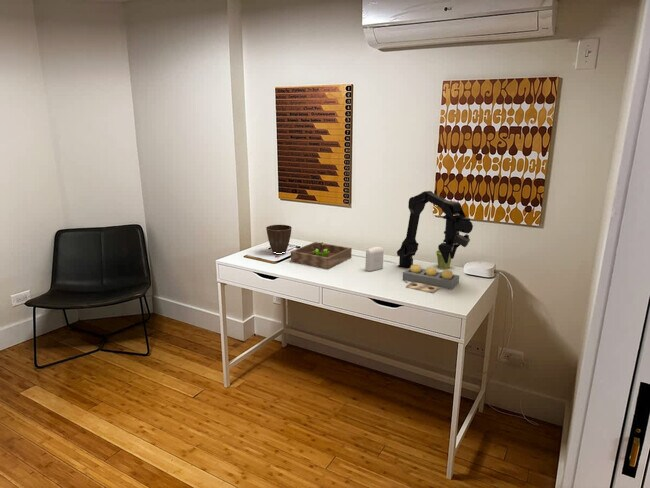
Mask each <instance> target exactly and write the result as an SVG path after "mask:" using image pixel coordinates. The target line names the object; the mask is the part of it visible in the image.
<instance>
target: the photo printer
mask: <svg viewBox="0 0 650 488" xmlns="http://www.w3.org/2000/svg"><path fill="white" fill-rule="evenodd" d="M383 268H384V248H383V247H380V246H373V247H370V248H368V249H367V250H366V251H365V271H367V272H372V271H378V270H383Z"/></svg>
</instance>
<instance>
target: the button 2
mask: <svg viewBox="0 0 650 488" xmlns="http://www.w3.org/2000/svg"><path fill="white" fill-rule="evenodd" d="M425 269H426V275H428V276H433V277H435V276H436V271H437V268H436V267H433V266H432V267H426V268H425Z"/></svg>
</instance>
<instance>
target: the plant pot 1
mask: <svg viewBox="0 0 650 488" xmlns="http://www.w3.org/2000/svg"><path fill="white" fill-rule="evenodd" d="M265 230H266V234H267V239H268V243H269V246H270V250H271V252H272V255H276V256H282V255H285V254H286V253H287V250H288V247H289V244H290V240H291V234H292V226H291V225H287V224H272V225H268V226H266V227H265ZM273 252H276V253H282V252H285V253H282V254H276V253H273Z"/></svg>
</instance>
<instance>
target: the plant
mask: <svg viewBox="0 0 650 488" xmlns="http://www.w3.org/2000/svg"><path fill="white" fill-rule="evenodd" d="M319 243H320V246H321V248H319V247H317V246H312V249H313V248H314V247H317V248H318V249H316V250H315V251H313V253H308V254H311V255H317V256H322V257H327V258H328V257H330V256H332V255H334V254H335V253H331V252H330V251H329V252H327V249H324V250H323V248H322V246H324V242H319Z"/></svg>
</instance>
